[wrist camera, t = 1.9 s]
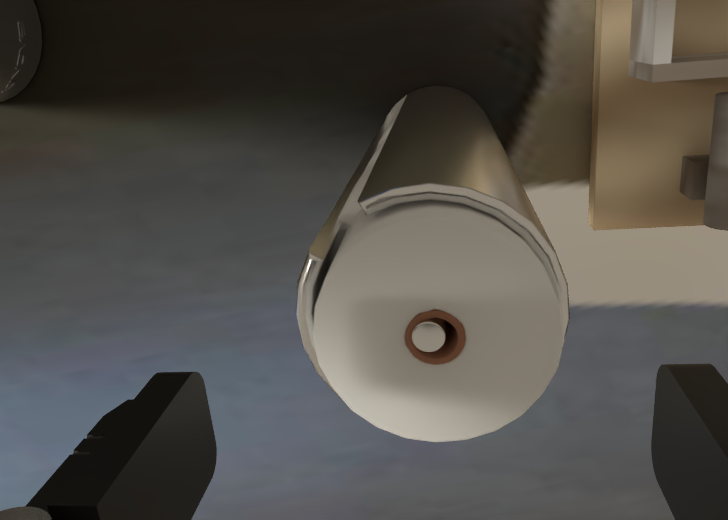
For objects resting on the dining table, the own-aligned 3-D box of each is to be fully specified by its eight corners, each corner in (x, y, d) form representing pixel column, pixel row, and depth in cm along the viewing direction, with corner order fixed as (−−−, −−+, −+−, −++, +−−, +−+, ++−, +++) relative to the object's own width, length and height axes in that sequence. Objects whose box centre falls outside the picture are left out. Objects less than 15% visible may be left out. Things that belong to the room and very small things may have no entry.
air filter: (477, 70, 36) (546, 157, 12) (503, 180, 38) (605, 432, 14) (367, 103, 37) (243, 238, 14) (397, 207, 39) (335, 479, 16)
